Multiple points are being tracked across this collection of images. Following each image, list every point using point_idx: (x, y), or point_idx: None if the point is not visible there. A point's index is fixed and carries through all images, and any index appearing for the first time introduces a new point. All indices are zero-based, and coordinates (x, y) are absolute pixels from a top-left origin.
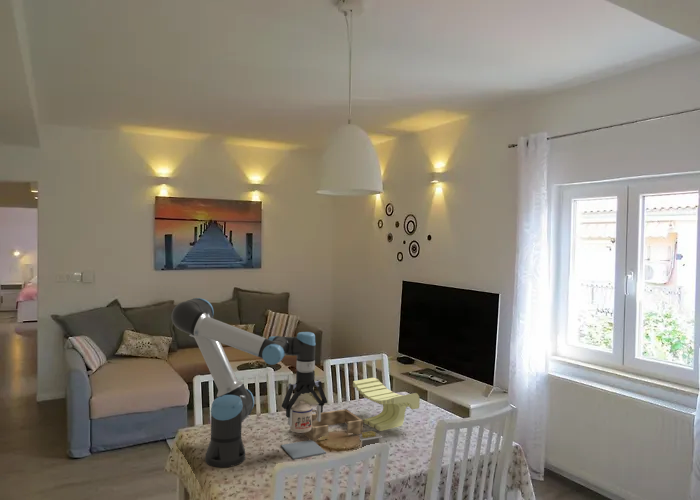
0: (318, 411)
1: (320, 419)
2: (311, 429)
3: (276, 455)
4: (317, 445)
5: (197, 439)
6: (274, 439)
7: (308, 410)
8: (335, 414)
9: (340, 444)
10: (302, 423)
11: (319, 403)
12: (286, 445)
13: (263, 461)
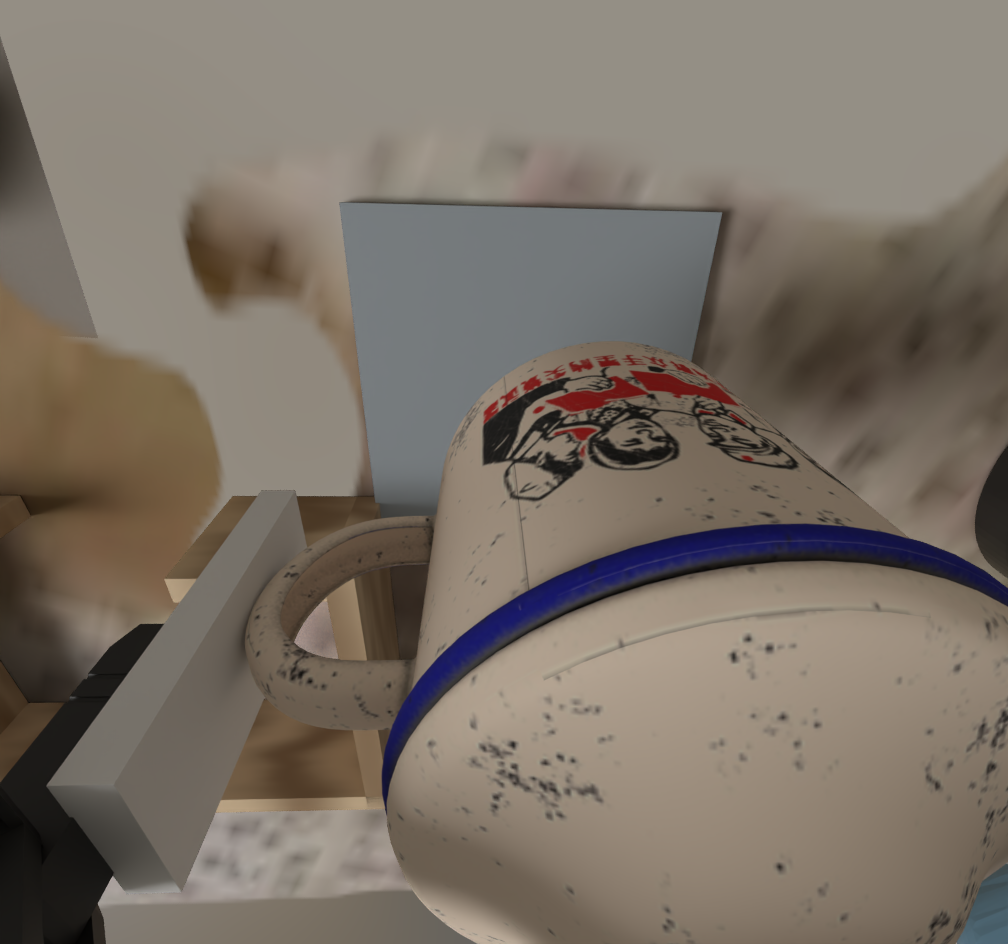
0: (223, 653)
1: (250, 510)
2: (365, 591)
3: (787, 374)
4: (372, 398)
5: None
6: None
7: (675, 582)
8: None
9: (130, 358)
10: (716, 400)
11: (64, 904)
12: None
13: (959, 303)
